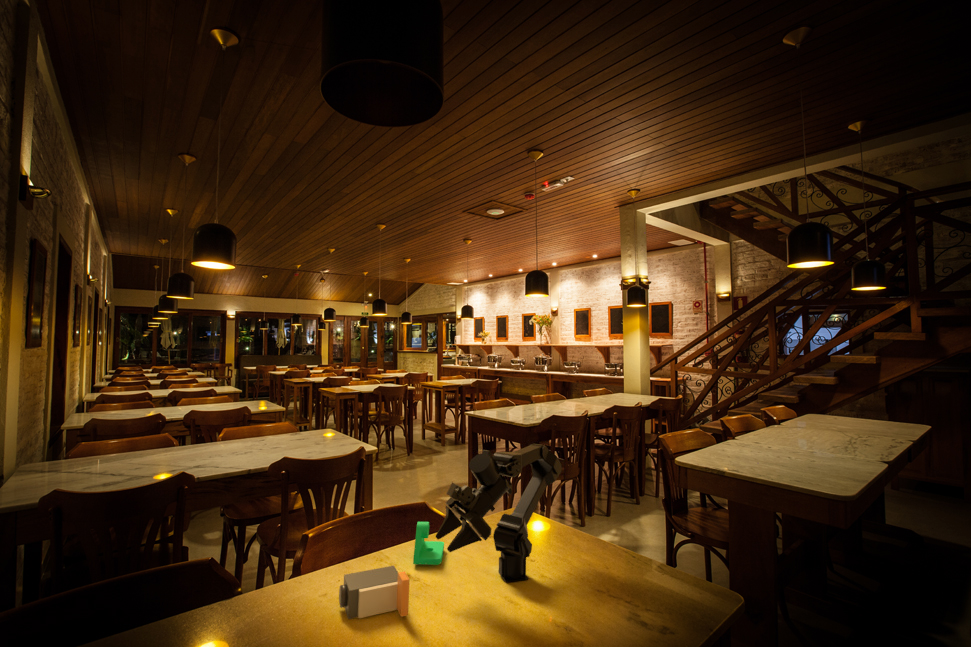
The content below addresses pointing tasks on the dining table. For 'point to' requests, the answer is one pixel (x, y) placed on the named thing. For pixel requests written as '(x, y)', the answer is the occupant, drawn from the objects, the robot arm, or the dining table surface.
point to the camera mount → (426, 547)
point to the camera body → (363, 586)
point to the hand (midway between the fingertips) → (442, 544)
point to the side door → (385, 598)
